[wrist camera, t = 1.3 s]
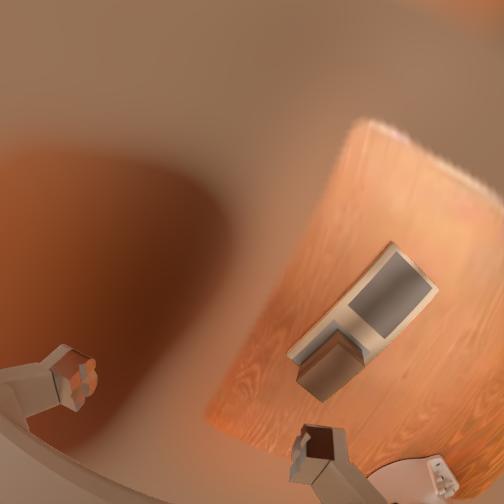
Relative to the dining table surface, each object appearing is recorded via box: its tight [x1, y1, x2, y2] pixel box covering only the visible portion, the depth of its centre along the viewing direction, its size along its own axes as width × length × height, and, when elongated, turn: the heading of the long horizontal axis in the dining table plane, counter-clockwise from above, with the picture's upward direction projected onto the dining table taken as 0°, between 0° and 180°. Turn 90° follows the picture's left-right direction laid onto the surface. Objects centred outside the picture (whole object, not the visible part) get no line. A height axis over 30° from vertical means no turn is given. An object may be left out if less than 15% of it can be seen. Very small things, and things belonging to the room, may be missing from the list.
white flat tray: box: [286, 242, 439, 367], centre depth 37 cm, size 9×20×2 cm, turn 140°
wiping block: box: [296, 329, 365, 403], centre depth 35 cm, size 4×7×5 cm, turn 140°
